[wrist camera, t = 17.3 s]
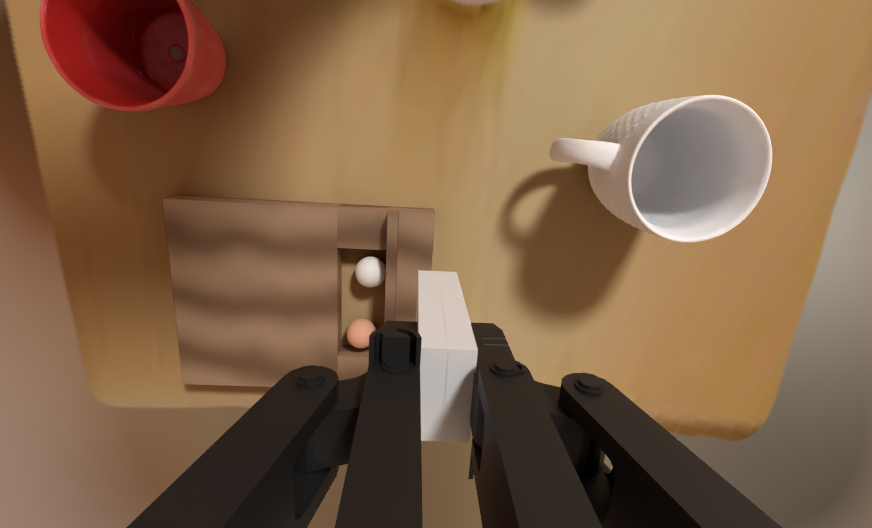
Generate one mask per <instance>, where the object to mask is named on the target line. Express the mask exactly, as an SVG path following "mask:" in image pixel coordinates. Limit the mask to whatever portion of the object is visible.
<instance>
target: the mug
mask: <svg viewBox="0 0 872 528" xmlns="http://www.w3.org/2000/svg"><path fill="white" fill-rule="evenodd" d="M550 158H551V159H552V160H555V161H561V162H570V163H576V164H582V165H587V166H588V175H589V181H590V185H591V187H592V190H593V192H594V194H595V195H596V197H597V198H598V199H599V200H600V202H601V204H603V205H604V206H605V208H606V209H607V210H609V211H610V212H611V213H612V214H613V215H615V216H616V217H617V218H619V219H621V220H623V221H624V222H625V223H627V224H630V225H631V226H633V227H636V228H638V229H640V230H642V231H646V232H647V233H649V234H653V235H656V236H658V237H660V238H663V239H666V240H669V241H674V242H682V243H693V242H701V241H705V240H709V239H712V238H715V237H718V236H720V235H722V234H724V233H726V232H728V231H729V230H731V229H732V228H734V227H735V226H737V225H738V224H739V223H740V222H741V221H743V220H744V219H745V218H746V217H747V216H748V214H749V213H750V212H751V211H752V210H753V209H754V207H755V206H756V205H757V203H758V201H759V200H760V198H761V197H762V195H763V192H764V190H765V188H766V185H767V183H768V180H769V176H770V172H771V165H772V146H771V141H770V137H769V134H768V131H767V129H766V127H765V125H764V123H763V122H762V120H761V119H760V117H759V116H758V115H757V114H756V113H755V112H754V111H753V110H752V109H751V108H750V107H748V106H747V105H745V104H744V103H742V102H740V101H738V100H736V99H733V98H730V97H726V96H720V95H703V96H694V97H681V98H679V99H670V100H667V101H659V102H657V103H651V104H649V105H644V106H641V107H639V108H637V109H634V110H631V111H630V112H629V113H625V114H624V115H623V116H622V117H620V118H617V119H616V120H615V121H614V122H613V123H611V124H610V125H609V126H608V127H607V128H606V129H605V130H604V131H603V132H602V133H601V134H600V136H599V137H598V139H597V140H596V141H590V140H581V139H570V138H561V139H557V140H555V141H554V142H553V144H552V146H551V149H550Z"/></svg>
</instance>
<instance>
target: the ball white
mask: <svg viewBox="0 0 872 528" xmlns="http://www.w3.org/2000/svg"><path fill="white" fill-rule="evenodd" d="M355 275H356V278H357V280H358V282H359V283H360V284H362V285H363V286H366V287H376V286H378V285H380V284H381V283H382V282H383V281H384V279H385V277H386V267H385V265H384V263H383V262H382V261H381V260H380V259H378V258H376V257H365V258H363V259H362V260H360V261H359V262H358V264H357V266H356V269H355Z"/></svg>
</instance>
